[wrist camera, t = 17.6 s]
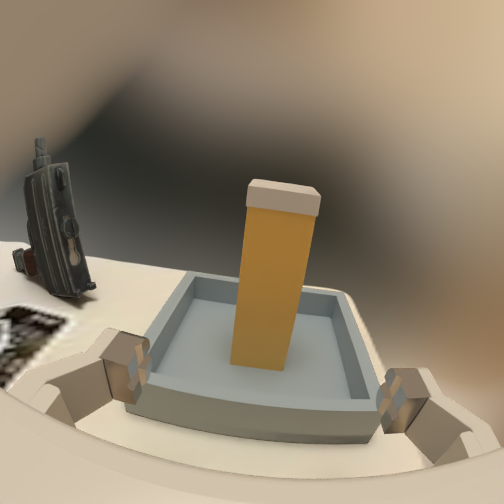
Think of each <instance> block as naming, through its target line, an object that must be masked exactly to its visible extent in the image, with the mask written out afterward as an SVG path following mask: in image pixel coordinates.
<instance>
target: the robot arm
mask: <svg viewBox="0 0 504 504" xmlns="http://www.w3.org/2000/svg"><path fill="white" fill-rule="evenodd" d="M149 349H150V341H149V339H148V338H146V337H142V336H138V335H135V334H131V333H127V332H124V331H120V330H116V329H112V328H107V329H105V330H104V332H103V333H102V334H101V335H100V336H99V337H98V339H97V340H96V341H95V342H94V343H93V345H92V346H91V347H90V348H89V349H88V351H87V352H86V353H82V352H81V353H78V354H75V355H73V356H70V357H67V358H64V359H61V360H58V361H56V362H53V363H50V364H47V365H44V366H41V367H38V368H35V369H32V370H29V371H27V372H26V373H25V374H24V375H23V376H22V377H21V378H20V379H19V380H18V381H17V383H16V384H15V385H14V386H13V387H12V388H11V389H10V390H9V392H6V391H5V390H3V389H1V388H0V504H504V447H501V446H500V444H499V442H498V441H497V439H496V437H495V435H494V433H493V431H492V429H491V427H490V425H488V424H487V423H485V422H484V421H482V420H481V419H479V418H478V417H476V416H475V415H473V414H472V413H471V412H469V411H468V410H466V409H465V408H463V407H462V406H460V405H459V404H457V403H456V402H454V401H453V400H452V399H450V398H449V397H447V396H443V395H442V393H441V391H440V389H439V387H438V385H437V383H436V382H435V380H434V378H433V376H432V374H431V373H430V371H429V369H427V368H390V369H389V370H388V371H387V373H386V375H385V380H386V382H385V383H383V384H382V385H381V386H380V387H379V389H378V391H377V395H376V407H377V411H378V412H379V413H381V414H382V415H383V416H382V417H381V419H380V421H381V425H382V428H383V431H384V434H393V433H405V435H406V436H407V437H408V438H409V439H410V440H411V441H412V442H413V443H414V444H415V445H416V446H417V447H418V449H419V450H420V451H421V452H422V453H423V454H424V455H425V456H426V457H427V458H428V459H429V460H430V461H431V462H432V463H433V464H434V465H433V466H432V467H431V468H426V469H421V470H415V471H409V472H403V473H396V474H389V475H380V476H371V477H358V478H340V479H293V478H275V477H263V476H252V475H244V474H236V473H229V472H223V471H217V470H211V469H206V468H200V467H196V466H191V465H186V464H182V463H178V462H173V461H169V460H166V459H162V458H158V457H155V456H151V455H148V454H144V453H141V452H138V451H134V450H131V449H128V448H125V447H122V446H119V445H117V444H114V443H111V442H108V441H106V440H103V439H100V438H98V437H95V436H93V435H90V434H88V433H86V432H83V431H81V430H78V429H77V428H76V426H75V424H74V423H75V422H77V421H79V420H80V419H82V418H84V417H85V416H87V415H89V414H90V413H92V412H94V411H95V410H97V409H99V408H100V407H102V406H104V405H105V404H107V403H109V402H110V401H112V399H115V400H118V401H121V402H125V403H128V404H132V405H136V403H137V401H138V399H139V397H140V395H141V393H142V388H141V386H142V385H144V384H146V383H147V381H148V379H149V377H150V373H151V368H152V360H151V357H150V356H149V354H148V351H149Z"/></svg>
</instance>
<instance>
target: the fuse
mask: <svg viewBox="0 0 504 504" xmlns="http://www.w3.org/2000/svg"><path fill="white" fill-rule="evenodd" d="M320 199H321V196H320V195H319V194H318V192H317V191H316V190H315V189H314V188H313V187H308V186H301V185H295V184H287V183H281V182H274V181H266V180H258V179H253V181H252V182H251V183H250V184H249V186H248V193H247V201H246V206H248V208H247V217H246V225H245V234H244V242H243V252H242V261H241V268H240V277H239V286H238V295H237V304H236V313H235V322H234V331H233V340H232V349H231V359H230V364H232V365H238V366H245V367H252V368H260V369H267V370H276V371H283V369H284V365H285V361H286V357H287V353H288V349H289V345H290V340H291V336H292V332H293V327H294V323H295V318H296V314H297V309H298V305H299V300H300V295H301V291H302V286H303V281H304V276H305V271H306V266H307V261H308V256H309V250H310V245H311V240H312V234H313V229H314V223H315V217H316V216H318V212H319V206H320Z"/></svg>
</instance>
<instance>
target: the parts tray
mask: <svg viewBox="0 0 504 504" xmlns="http://www.w3.org/2000/svg"><path fill="white" fill-rule="evenodd" d="M238 286H239V278H233V277H226V276H219V275H213V274H206V273H200V272H193V271H188V272H187V273H186V274H185V276H184V277H183V279H182V280H181V282H180V283H179V284H178V286H177V287H176V289H175V290H174V292H173V293H172V294H171V296H170V297H169V299H168V300H167V302H166V303H165V305H164V306H163V308H162V309H161V311H160V312H159V313H158V315H157V316H156V318H155V319H154V321H153V322H152V324H151V325H150V327H149V328H148V330H147V331H146V333H145V334H144V336H143V337H146V338H148V339H149V341H150V349H149V351H148V354H149V356H150V357H151V360H152V368H151V373H150V377H149V379H148V381H147V383H146V384H144V385H142V386H141V388H142V393H141V395H140V397H139V399H138V401H137V403H136V405H132V404H128V403H125V402H124V403H125V407H126V411H127V412H130V413H133V414H137V415H140V416H143V417H147V418H150V419H154V420H158V421H162V422H166V423H170V424H174V425H178V426H182V427H187V428H191V429H196V430H201V431H206V432H212V433H217V434H223V435H230V436H236V437H243V438H251V439H259V440H269V441H280V442H294V443H315V444H357V443H368V442H369V440H370V439H371V437H372V436H373V434H374V433H375V431H376V430H377V428H378V426H379V425H380V423H381V421H380V419H381V417H382V416H383V415H382V414H381V413H379V412H378V411H377V407H376V395H377V391H378V389H379V387H380V385H379V382H378V379H377V376H376V374H375V371H374V368H373V365H372V363H371V360H370V357H369V354H368V352H367V349H366V347H365V344H364V341H363V339H362V336H361V334H360V331H359V328H358V326H357V323H356V321H355V318H354V316H353V313H352V311H351V308H350V306H349V304H348V301H347V299H346V296H345V294H344V292H336V291H328V290H320V289H312V288H305V287H302V291H301V295H300V300H299V305H298V309H297V314H296V318H295V323H294V327H293V332H292V336H291V340H290V345H289V349H288V353H287V357H286V361H285V365H284V369H283V371H276V370H267V369H260V368H252V367H245V366H238V365H232V364H230V359H231V349H232V340H233V331H234V322H235V313H236V304H237V295H238Z"/></svg>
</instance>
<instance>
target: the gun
mask: <svg viewBox="0 0 504 504" xmlns="http://www.w3.org/2000/svg"><path fill="white" fill-rule="evenodd" d="M35 150H36V159H34V160H33V167H34V172H33V173H31V174H29V175H28V176H25V179H24V188H23V190H24V197H25V203H26V210H27V215H28V222H27V231H28V236H29V240H30V245H31V248H29V249H27V250H23V249H22V248H20V249H17V250H15V251H13V253H12V255H13V259H14V263H15V266H16V269H17V270H18V271H22V270H24V271H25V274H26V275H27V276H28V277H31V276H33V275H35V274H38V275H39V276H41V277H42V279H43V281H44V283H45V285H46V287H47V289H48V291H49V293H50V294H51V295H59V296H67V297H75V298H79V297H81V296H82V294H83V293H84V292H86V291H88V290H93V289H95V288H96V284H95V282H91V278H90V275H89V271H88V267H87V263H86V259H85V255H84V252H83V247H82V243H81V238H80V233H79V224H78V222H77V219H76V214H75V208H74V202H73V197H72V190H71V184H70V176H69V169H68V163H59V164H51V158H50V156H49V155H48V156H47V152H46V141H45V138H44V137H39V138H37V139H35Z"/></svg>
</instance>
